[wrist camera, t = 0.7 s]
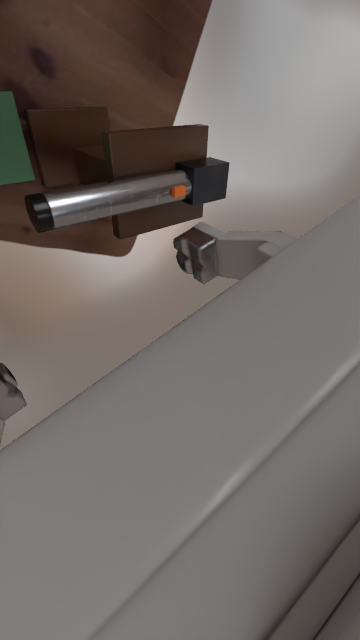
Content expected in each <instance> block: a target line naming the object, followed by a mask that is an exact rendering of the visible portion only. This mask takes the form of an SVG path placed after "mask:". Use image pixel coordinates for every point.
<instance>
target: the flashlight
mask: <svg viewBox="0 0 360 640" xmlns="http://www.w3.org/2000/svg"><path fill="white" fill-rule="evenodd" d="M228 171H229V163H228V162H225V161H221V160H218V159H214V158H210V157H209V158H202V159H196V160H189V161H183V162H176V170H173V171H167V172H161V173H155V174H149V175H143V176H137V177H131V178H125V179H119V180H114V181H108V182H102V183H96V184H90V185H84V186H78V187H72V188H66V189H60V190H54V191H48V192H42V193H36V194H30V195H26V196H25V205H26V209H27V212H28V215H29V218H30V220H31V222H32V224H33V226H34V228H35V230H36V231H37V232H38V233H40V232H45V231H49V230H53V229H58V228H62V227H67V226H71V225H75V224H80V223H84V222H88V221H93V220H97V219H101V218H106V217H110V216H114V215H119V214H123V213H127V212H132V211H136V210H140V209H145V208H149V207H154V206H158V205H162V204H167V203H171V202H175V201H182V202H184V203H187V204H189V205H191V206H196V205H200V204H204V203H208V202H212V201H216V200H220V199H224V198H225V197H226V188H227V180H228Z"/></svg>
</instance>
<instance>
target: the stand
mask: <svg viewBox="0 0 360 640" xmlns="http://www.w3.org/2000/svg"><path fill="white" fill-rule="evenodd" d="M24 111H25V115H26V119H27V123H28V127H29V131H30V135H31V139H32V143H33V147H34V151H35V155H36V159H37V163H38V167H39V171H40V175H41V179H42V183H43V186H45V187H46V188H47V187H53V186H59V185H66V184H72V183H78V182H80V183H82V184H84V185H90V184H96V183H102V182H108V181H114V180H119V179H125V178H131V177H137V176H143V175H149V174H155V173H161V172H167V171H173V170H176V162H183V161H189V160H196V159H202V158H206V156H207V141H208V126H207V125H201V124H198V125H197V124H196V125H184V126H171V127H158V128H146V129H133V130H121V131H110V130H109V120H108V111H107V107H82V108H54V109H26V110H24ZM202 215H203V204H200V205H196V206H191V205H189V204H187V203H184V202H182V201H175V202H171V203H167V204H162V205H158V206H154V207H149V208H145V209H140V210H136V211H132V212H127V213H123V214H119V215H114V216H112V223H113V232H114V236H116V237H117V238H119V239H120V240H121V239H124V238H128V237H132V236H135V235H139V234H143V233H146V232H150V231H153V230H157V229H161V228H164V227H168V226H171V225H175V224H178V223H182V222H186V221H190V220H193V219H197V218H200V217H202Z"/></svg>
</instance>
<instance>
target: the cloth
mask: <svg viewBox="0 0 360 640" xmlns="http://www.w3.org/2000/svg"><path fill="white" fill-rule="evenodd" d="M33 180H35V177H34V173H33V169H32V165H31V162H30V158H29V154H28V150H27V146H26V142H25V139H24V135H23V131H22V127H21V123H20V120H19V116H18V112H17V108H16V104H15V101H14V97H13V93H12V92H0V185H6V184H12V183H19V182H26V181H33Z"/></svg>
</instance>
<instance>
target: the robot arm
mask: <svg viewBox="0 0 360 640" xmlns="http://www.w3.org/2000/svg"><path fill="white" fill-rule="evenodd" d="M173 243H174V248H176V249H177V250H178V252H177V255H176V257H177V261H178V264H179V266H180V267H181V269H182V270H183V271H185V272H186V273H187V274H193V275H194V278H195V279H196V280H198V281H199V282H201V283H203V284H205V283H207V282H209V281H210V280H212V279H213V278H215V277H216V276H218V275H219V276H221V277H227V278H233V279H239V281H238V282H237V283H235V284H234V285H232V286H231V287H229V288H228V289H227V290H225V291H224V292H222V293H221V294H220V295H218V296H217V297H216V298H214V299H213V300H211V301H210V302H208V303H207V304H206V305H204V306H203V307H201V308H200V309H199V310H197V311H196V312H194V313H193V314H191V315H190V316H189V317H187V318H186V319H184V320H183V321H182V322H180V323H179V324H177V325H176V326H175V327H173V328H172V329H170V330H169V331H168V332H166V333H165V334H163V335H162V336H161V337H159V338H158V339H156V340H155V341H154V342H152V343H151V344H149V345H148V346H147V347H145V348H144V349H142V350H141V351H139V352H138V353H137V354H135V355H134V356H132V357H131V358H130V359H128V360H127V361H125V362H124V363H123V364H121V365H120V366H119V367H117V368H116V369H114V370H113V371H111V372H110V373H108V374H107V375H106V376H104V377H103V378H101V379H100V380H99V381H97V382H96V383H94V384H93V385H92V386H90V387H89V388H87V389H86V390H85V391H83V392H82V393H80V394H79V395H77V396H76V397H75V398H74V399H72V400H70V401H69V402H68V403H66V404H65V405H63V406H62V407H61V408H59V409H58V410H56V411H55V412H54V413H52V414H51V415H49V416H48V417H47V418H45V419H44V420H42V421H41V422H40V423H38V424H37V425H35V426H34V427H32V428H31V429H30V430H28V431H27V432H26V433H24V434H23V435H21V436H20V437H18V438H17V439H16V440H14V441H13V442H11V443H10V444H8V445H7V446H6V447H4V448H3V449H1V450H0V640H360V196H359V197H357V198H355V199H353V200H352V201H350V202H349V203H348V204H346V205H345V206H343V207H342V208H341V209H339V210H338V211H336V212H335V213H334V214H332V215H331V216H329V217H328V218H327V219H325V220H324V221H322V222H321V223H320V224H318V225H317V226H315V227H314V228H312V229H311V230H310V231H308V232H307V233H305V234H304V235H303V236H301V237H300V238H295V237H293V236H290V235H288V234H285V233H283V232H281V231H245V232H244V231H243V232H242V231H239V232H237V231H236V232H235V231H232V232H228V233H225V232H223V231H221V230H219V229H217V228H215V227H212V226H210V225H208V224H206V223H204V222H200V223H198V224H197V225H195V226H194V227H192V228H191V229H190V230H188V231H186V232H184V233H183V234H181V235H179V236H178V237H176V238H174V242H173ZM17 385H18V384H17V382H16V380H15V378H14V376H13V375H12V373H11V372H10V371H9V370H8V368H7V367H6V366H5V365H4V364H2V363H0V444H1V438H2V435H3V430H4V425H5V422H4V421H5V420H7V419H8V418H9V417H11V416H12V415H14V414H15V413H16V412H18V411H19V410H21V409H22V408H23V407H25V406H26V405H27V404H26V402H25V399H24V397H23V395H22V392H21V391H19V390H18V389H17Z"/></svg>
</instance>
